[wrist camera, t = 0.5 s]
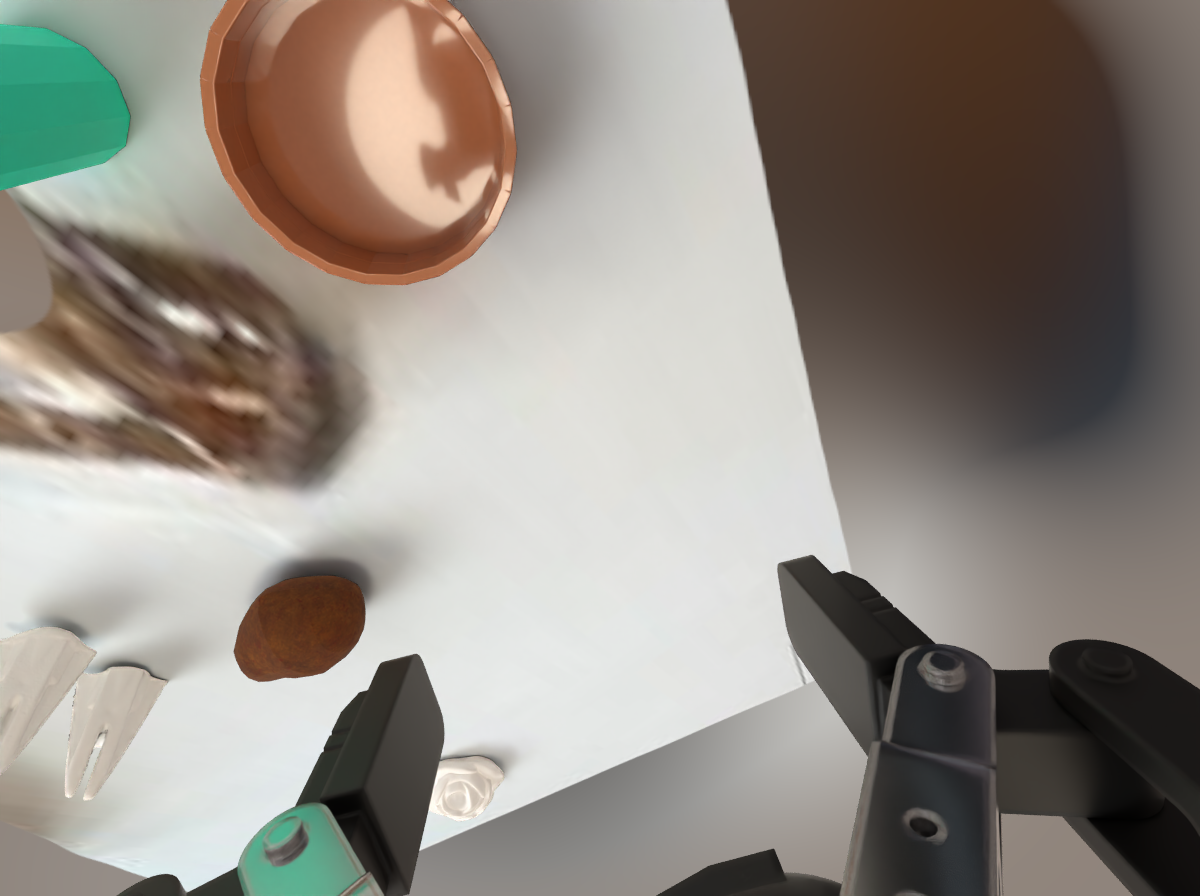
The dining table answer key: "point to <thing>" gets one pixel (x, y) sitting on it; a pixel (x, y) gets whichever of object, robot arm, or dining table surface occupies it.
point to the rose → (464, 787)
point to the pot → (361, 131)
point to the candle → (54, 107)
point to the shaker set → (100, 708)
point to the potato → (300, 628)
